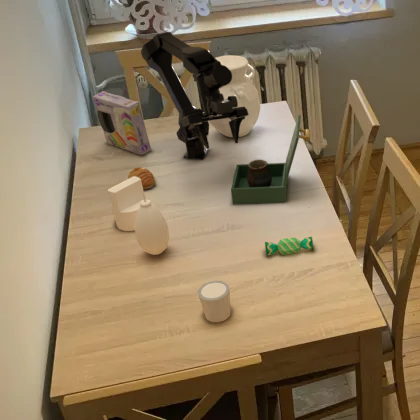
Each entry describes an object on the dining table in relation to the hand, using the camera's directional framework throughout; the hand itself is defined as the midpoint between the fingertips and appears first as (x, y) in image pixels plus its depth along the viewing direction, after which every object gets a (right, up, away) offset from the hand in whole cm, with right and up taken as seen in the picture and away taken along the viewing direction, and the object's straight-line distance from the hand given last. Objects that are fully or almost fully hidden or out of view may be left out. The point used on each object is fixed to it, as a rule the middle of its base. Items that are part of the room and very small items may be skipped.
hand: (222, 145), depth 191 cm
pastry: (-26, -10, +8) cm, 29 cm away
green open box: (+11, -13, +3) cm, 17 cm away
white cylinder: (+8, -42, -43) cm, 61 cm away
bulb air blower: (-12, -30, -23) cm, 39 cm away
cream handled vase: (-3, +9, +37) cm, 38 cm away
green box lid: (+20, -2, -4) cm, 21 cm away
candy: (+22, -29, -23) cm, 44 cm away
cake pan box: (-38, +2, +28) cm, 47 cm away
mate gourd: (+11, -12, +2) cm, 17 cm away
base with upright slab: (-22, -22, -10) cm, 33 cm away
